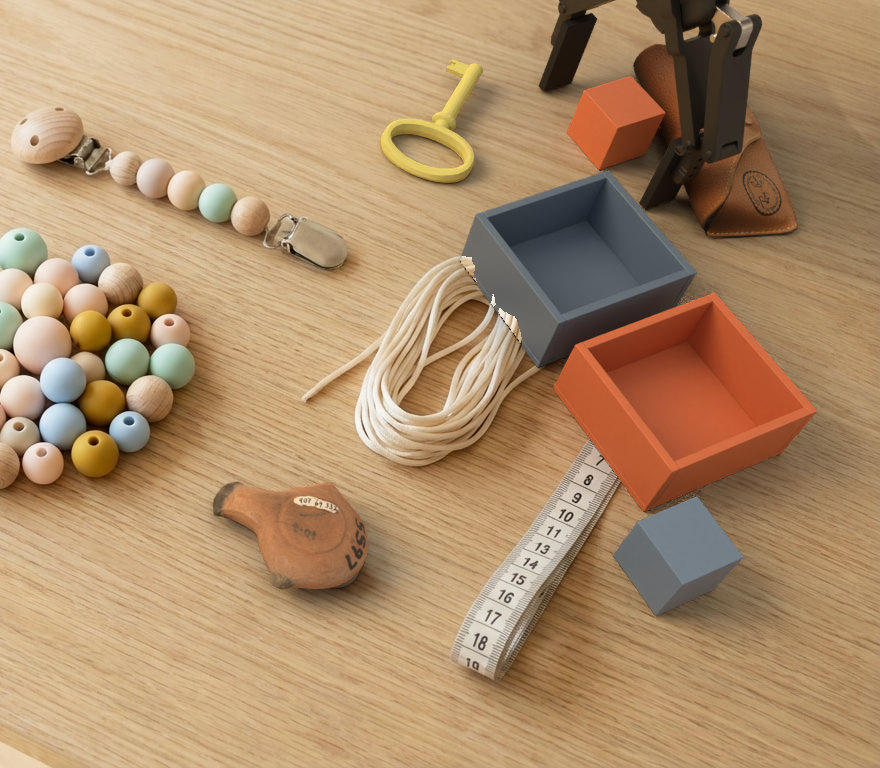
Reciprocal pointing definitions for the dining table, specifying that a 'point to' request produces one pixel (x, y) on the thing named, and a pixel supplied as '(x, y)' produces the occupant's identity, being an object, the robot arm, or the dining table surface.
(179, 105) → the dining table surface
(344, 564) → the oil lamp
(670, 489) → the terracotta bin
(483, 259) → the slate bin
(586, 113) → the terracotta block
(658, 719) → the dining table surface
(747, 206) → the sunglasses case
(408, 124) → the key
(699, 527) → the slate block
